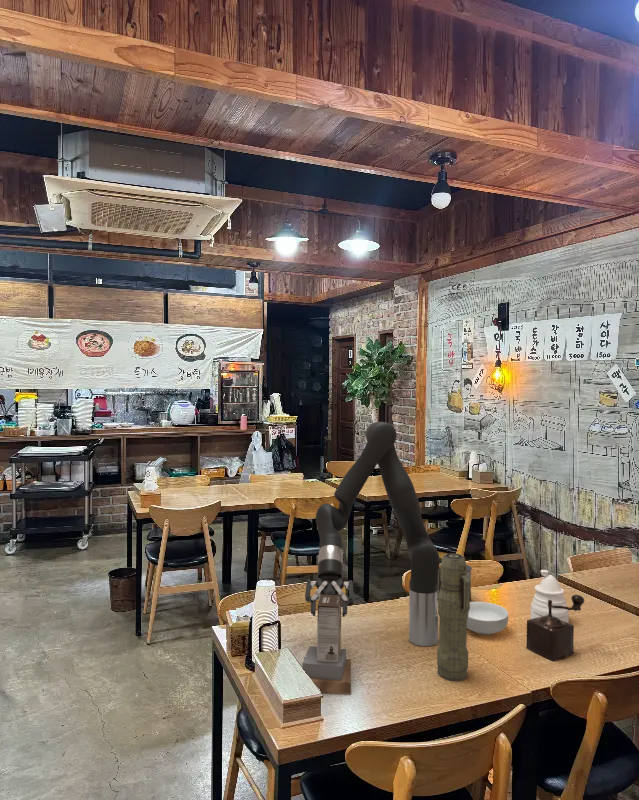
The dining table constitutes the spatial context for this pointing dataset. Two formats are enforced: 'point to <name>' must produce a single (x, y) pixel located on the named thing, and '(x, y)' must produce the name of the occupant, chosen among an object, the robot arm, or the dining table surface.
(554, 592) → the honey pot
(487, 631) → the cereal bowl
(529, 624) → the manual coffee grinder
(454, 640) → the thermos
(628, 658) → the dining table surface
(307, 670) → the grey square block
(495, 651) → the dining table surface
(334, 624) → the coffee box
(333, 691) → the walnut base block
